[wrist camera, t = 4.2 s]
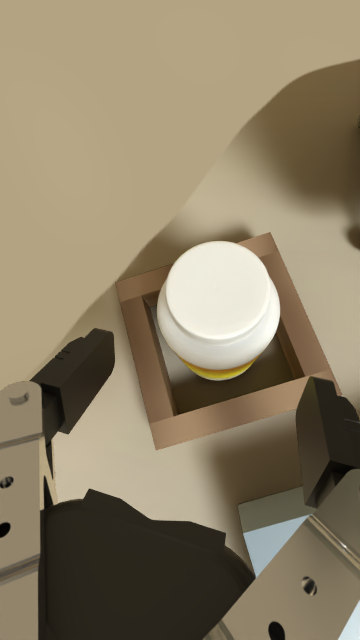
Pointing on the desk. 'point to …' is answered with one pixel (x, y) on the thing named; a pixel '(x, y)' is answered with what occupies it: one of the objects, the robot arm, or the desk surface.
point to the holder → (236, 411)
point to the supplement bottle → (218, 309)
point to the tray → (280, 535)
